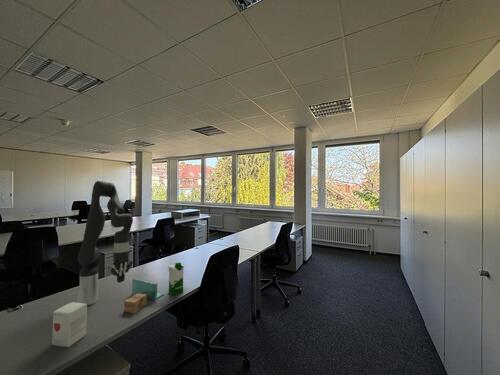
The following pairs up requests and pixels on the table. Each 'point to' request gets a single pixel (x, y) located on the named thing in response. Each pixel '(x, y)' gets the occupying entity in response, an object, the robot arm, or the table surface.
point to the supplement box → (69, 324)
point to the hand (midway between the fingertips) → (120, 281)
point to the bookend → (145, 288)
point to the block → (135, 303)
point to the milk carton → (176, 278)
